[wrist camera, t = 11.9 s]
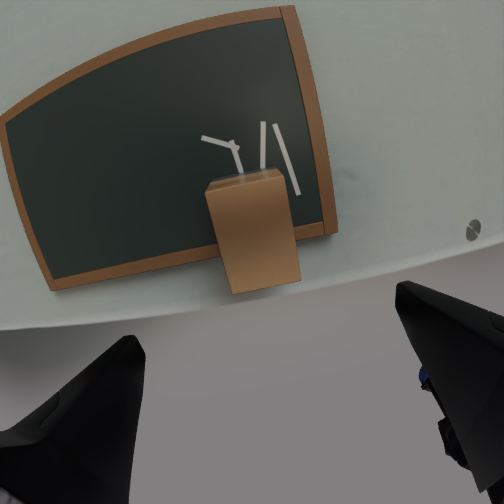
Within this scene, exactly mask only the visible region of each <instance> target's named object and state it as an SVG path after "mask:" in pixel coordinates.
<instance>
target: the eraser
mask: <svg viewBox="0 0 504 504" xmlns="http://www.w3.org/2000/svg"><path fill="white" fill-rule="evenodd" d="M205 197H206V200H207V204H208V208H209V212H210V216H211V219H212V223H213V227H214V231H215V234H216V238H217V242H218V245H219V249H220V253H221V256H222V260H223V264H224V267H225V271H226V274H227V278H228V281H229V285H230V288H231V292H232V294H237V293H242V292H247V291H253V290H258V289H263V288H268V287H273V286H278V285H283V284H287V283H292V282H297V281H301V275H300V268H299V261H298V255H297V248H296V242H295V236H294V230H293V224H292V218H291V212H290V207H289V201H288V195H287V190H286V184H285V179H284V176H283V175H282V173H281V172H280V171H279V170H278V169H277V168H276V167H275V166H272V167H267V168H262V169H257V170H252V171H247V172H242V173H238V174H233V175H229V176H224V177H220V178H215V179H213V180H212V181H211V183H210V185H209V186H208V188H207V190H206V192H205Z"/></svg>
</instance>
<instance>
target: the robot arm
mask: <svg viewBox="0 0 504 504" xmlns="http://www.w3.org/2000/svg"><path fill="white" fill-rule="evenodd" d="M395 307H396V310H397V313H398V315H399V317H400V319H401V322H402V324H403V326H404V329H405V331H406V333H407V336H408V338H409V340H410V343H411V345H412V347H413V349H414V351H415V352H416V354H417V356H418V358H419V360H420V361H421V363H422V365H423V367H424V369H425V371H426V373H427V375H428V376H429V377H428V378H427V379H426V381H425V382H424V383H423V384H422V386H421V388H422V390H431V392H432V394H433V396H434V397H435V399H436V401H437V403H438V405H439V406H440V408H441V410H442V412H443V414H444V416H445V418H444V419H442V420H440V421H439V422H438V425H439V431H440V434H441V437H442V440H443V443H444V447H445V453H446V455H448V456H451V457H452V458H453V459H454V460H455V461H457V463H458V464H459V465H460V466H461V467H463V468H466V469H468V470H470V471H471V472H472V474H473V477H474V479H475V483H476V485H477V488H478V491H479V493H481V492H483V491H484V490H486V489H487V492H488V495H489V498H490V500H491V503H492V504H504V317H503V316H501V315H498V314H496V313H493V312H491V311H489V312H488V310H485V309H483V308H480V307H477V306H475V305H473V304H470V303H467V302H465V301H462V300H459V299H457V298H454V297H452V296H449V295H446V294H444V293H441V292H438V291H435V290H432V289H430V288H427V287H425V286H422V285H419V284H417V283H413V282H411V281H403V282H400V283H398V284H397V286H396V298H395ZM145 358H146V357H145V352H144V350H143V348H142V347H141V345H140V343H139V341H138V339H137V338H136V336H134V335H127V336H123V337H122V338H121V339H119V340H118V341H117V342H116V343H115V344H114V345H112V346H111V347H110V348H109V349H108V350H106V351H105V352H104V353H103V354H101V355H100V356H99V357H98V358H97V359H96V360H94V361H93V362H92V363H91V364H90V365H88V366H87V367H86V368H85V369H84V370H83V371H81V372H80V373H79V374H78V375H77V376H75V377H74V378H73V379H72V380H71V381H70V382H68V383H67V384H66V385H65V386H64V387H63V388H61V389H60V391H58V392H57V393H56V394H54V395H53V396H52V397H51V398H50V399H48V400H47V401H46V402H45V403H43V404H42V405H41V406H40V407H38V408H37V409H36V410H35V411H33V412H32V413H31V414H29V415H28V416H26V417H25V418H24V419H22V420H21V421H20V422H18V423H17V424H16V425H14V426H13V427H11V428H10V429H8V430H5V431H0V504H129V491H130V480H131V471H132V463H133V455H134V447H135V440H136V432H137V426H138V420H139V414H140V408H141V401H142V396H143V384H144V372H145Z"/></svg>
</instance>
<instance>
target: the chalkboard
mask: <svg viewBox="0 0 504 504" xmlns="http://www.w3.org/2000/svg"><path fill="white" fill-rule="evenodd" d="M0 142H1V147H2V152H3V157H4V161H5V166H6V170H7V174H8V178H9V182H10V185H11V189H12V192H13V196H14V199H15V202H16V206H17V209H18V212H19V215H20V218H21V221H22V224H23V226H24V229H25V232H26V235H27V237H28V240H29V243H30V245H31V248H32V250H33V253H34V255H35V257H36V260H37V262H38V264H39V267H40V269H41V271H42V273H43V276H44V278H45V280H46V282H47V284H48V286H49V288H50V290H51V291H55V290H60V289H65V288H70V287H74V286H79V285H84V284H89V283H94V282H98V281H103V280H108V279H113V278H118V277H122V276H127V275H132V274H137V273H142V272H147V271H151V270H156V269H161V268H166V267H171V266H176V265H180V264H185V263H190V262H195V261H200V260H205V259H210V258H214V257H219V256H221V253H220V249H219V245H218V242H217V238H216V234H215V231H214V227H213V223H212V219H211V216H210V212H209V208H208V204H207V200H206V197H205V192H206V190H207V188H208V186H209V185H210V183H211V181H212V180H213V179H215V178H220V177H224V176H229V175H233V174H238V173H242V172H247V171H252V170H257V169H262V168H267V167H272V166H275V167H276V168H277V169H278V170H279V171H280V172H281V173H282V175H283V176H284V179H285V184H286V190H287V195H288V201H289V207H290V212H291V218H292V224H293V230H294V236H295V241H297V240H302V239H307V238H312V237H317V236H322V235H324V234H325V235H327V234H332V233H337V232H338V225H337V215H336V207H335V199H334V191H333V183H332V176H331V169H330V162H329V156H328V150H327V144H326V138H325V132H324V127H323V121H322V116H321V111H320V106H319V101H318V96H317V91H316V87H315V82H314V78H313V73H312V69H311V65H310V61H309V57H308V53H307V49H306V45H305V41H304V37H303V34H302V30H301V27H300V23H299V20H298V16H297V13H296V9H295V6H294V5H288V6H277V7H268V8H259V9H252V10H246V11H240V12H234V13H228V14H223V15H219V16H214V17H209V18H205V19H201V20H197V21H193V22H189V23H186V24H182V25H179V26H175V27H172V28H169V29H165V30H162V31H159V32H156V33H153V34H150V35H148V36H145V37H142V38H139V39H137V40H134V41H132V42H129V43H126V44H124V45H122V46H119V47H117V48H115V49H112V50H110V51H108V52H105V53H103V54H101V55H99V56H97V57H95V58H93V59H91V60H89V61H87V62H85V63H83V64H81V65H79V66H77V67H75V68H73V69H71V70H70V71H68V72H66V73H64V74H62V75H61V76H59V77H57V78H55V79H54V80H52V81H50V82H49V83H47V84H46V85H44V86H42V87H41V88H39V89H38V90H36V91H35V92H33V93H32V94H30V95H29V96H27V97H26V98H24V99H23V100H21V101H20V102H19V103H17V104H16V105H14V106H13V107H12V108H10V109H9V110H8V111H6V112H5V113H4V114H3V115H1V116H0Z"/></svg>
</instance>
